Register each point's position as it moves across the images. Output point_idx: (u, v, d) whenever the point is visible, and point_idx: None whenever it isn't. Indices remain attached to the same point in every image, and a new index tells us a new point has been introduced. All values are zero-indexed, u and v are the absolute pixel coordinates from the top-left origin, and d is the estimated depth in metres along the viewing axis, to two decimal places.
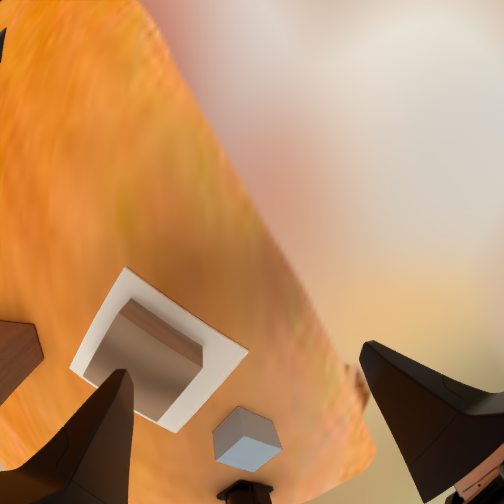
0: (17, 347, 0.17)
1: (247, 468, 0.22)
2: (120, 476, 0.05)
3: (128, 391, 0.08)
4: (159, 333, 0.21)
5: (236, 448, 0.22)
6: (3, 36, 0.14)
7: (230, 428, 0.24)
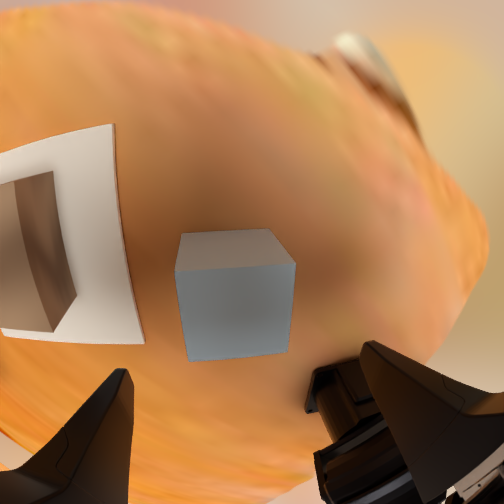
0: None
1: (265, 348, 0.13)
2: (120, 476, 0.05)
3: (128, 391, 0.08)
4: None
5: (193, 313, 0.11)
6: None
7: None
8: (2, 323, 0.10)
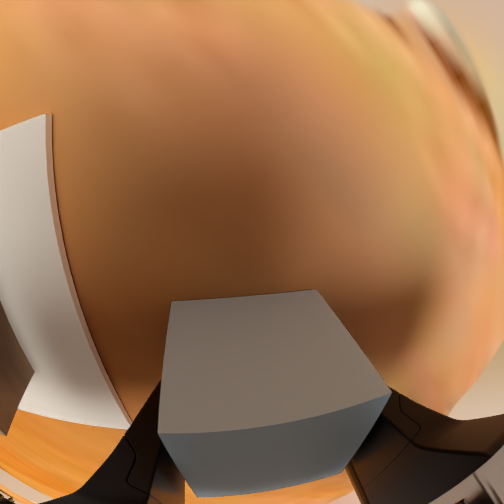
0: None
1: (312, 478, 0.06)
2: (179, 480, 0.06)
3: None
4: None
5: (201, 469, 0.05)
6: None
7: None
8: None
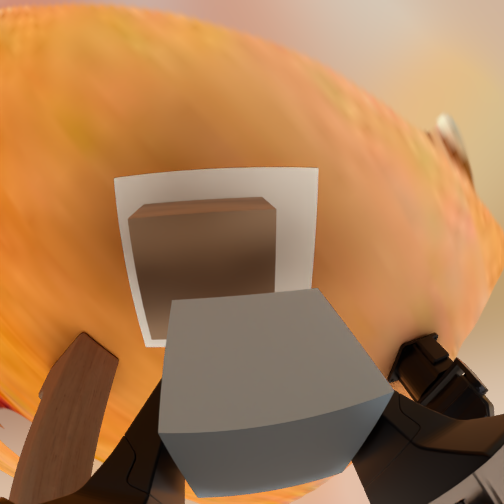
0: (77, 368, 0.17)
1: (313, 478, 0.06)
2: (179, 480, 0.06)
3: None
4: (195, 208, 0.15)
5: (202, 469, 0.05)
6: None
7: None
8: None
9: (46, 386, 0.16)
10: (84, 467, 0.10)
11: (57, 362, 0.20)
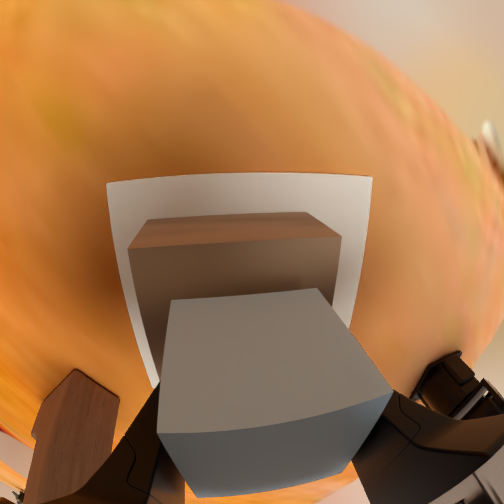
0: (72, 417, 0.12)
1: (312, 478, 0.06)
2: (179, 480, 0.06)
3: None
4: (226, 231, 0.11)
5: (201, 469, 0.05)
6: None
7: None
8: None
9: (38, 430, 0.12)
10: None
11: (49, 398, 0.15)
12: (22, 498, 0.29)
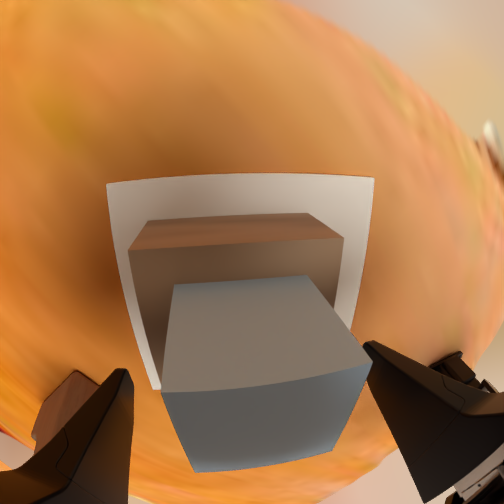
0: None
1: (304, 454, 0.07)
2: (120, 476, 0.05)
3: (128, 391, 0.08)
4: (227, 233, 0.11)
5: (199, 436, 0.06)
6: None
7: None
8: None
9: (39, 431, 0.12)
10: None
11: (49, 399, 0.15)
12: None
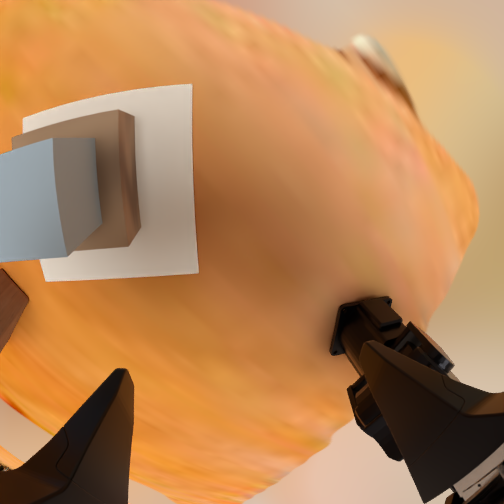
0: None
1: (45, 249, 0.09)
2: (120, 476, 0.05)
3: (128, 391, 0.08)
4: None
5: None
6: None
7: None
8: None
9: None
10: None
11: None
12: None
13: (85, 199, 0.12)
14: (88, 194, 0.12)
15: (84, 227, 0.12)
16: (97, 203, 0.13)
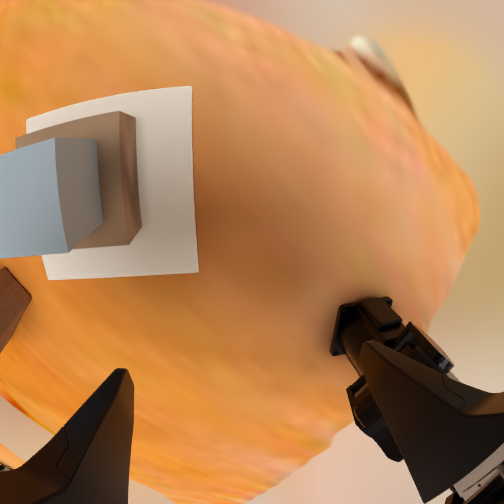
0: None
1: (46, 245, 0.09)
2: (120, 476, 0.05)
3: (128, 391, 0.08)
4: None
5: None
6: None
7: None
8: None
9: None
10: None
11: None
12: None
13: (86, 198, 0.12)
14: (90, 193, 0.12)
15: (86, 225, 0.12)
16: (98, 202, 0.14)
